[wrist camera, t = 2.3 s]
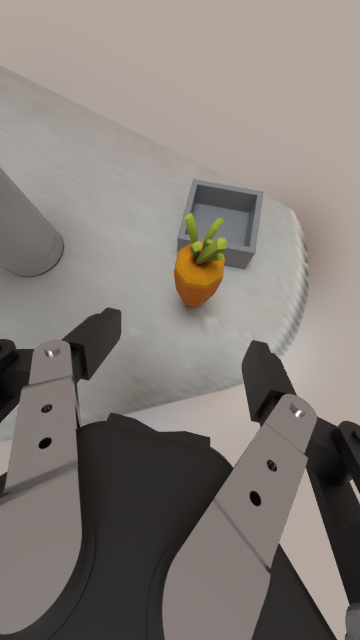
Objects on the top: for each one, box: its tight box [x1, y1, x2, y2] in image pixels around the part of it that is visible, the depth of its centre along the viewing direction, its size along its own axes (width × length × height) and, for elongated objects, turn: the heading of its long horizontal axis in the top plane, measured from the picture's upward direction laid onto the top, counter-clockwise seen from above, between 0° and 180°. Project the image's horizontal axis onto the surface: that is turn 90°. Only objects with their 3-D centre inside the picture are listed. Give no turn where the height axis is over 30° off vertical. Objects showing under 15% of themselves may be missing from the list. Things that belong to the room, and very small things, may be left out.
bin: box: [178, 179, 263, 269], centre depth 29 cm, size 11×11×4 cm
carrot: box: [174, 213, 227, 307], centre depth 20 cm, size 5×5×15 cm
